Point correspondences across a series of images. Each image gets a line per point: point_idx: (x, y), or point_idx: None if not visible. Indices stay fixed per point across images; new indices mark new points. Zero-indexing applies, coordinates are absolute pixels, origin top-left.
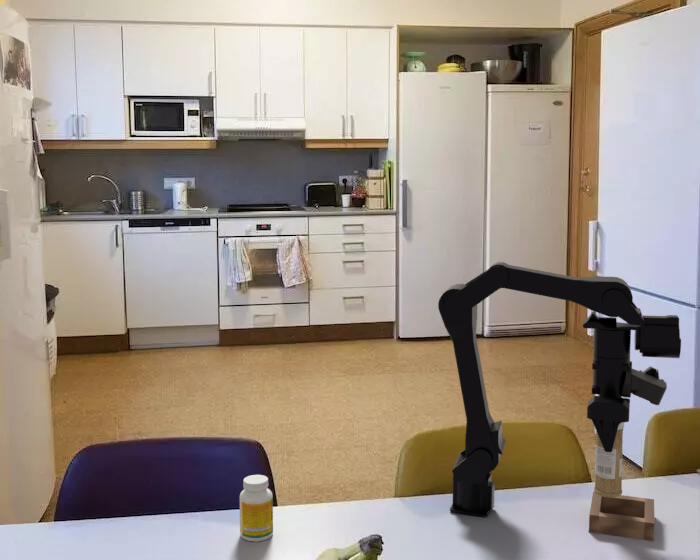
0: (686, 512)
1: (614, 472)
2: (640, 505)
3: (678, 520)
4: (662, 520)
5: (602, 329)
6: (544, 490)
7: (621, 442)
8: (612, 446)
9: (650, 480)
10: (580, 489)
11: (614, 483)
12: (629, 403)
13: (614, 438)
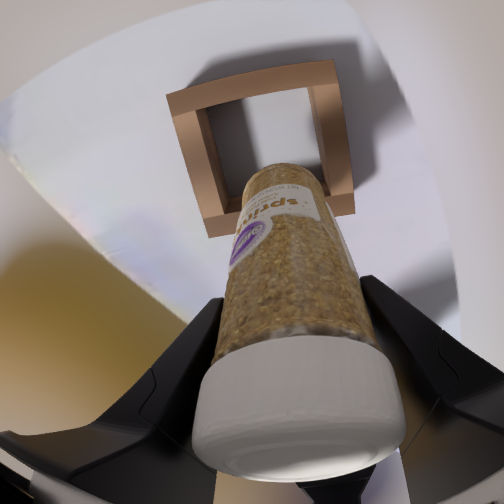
0: (119, 45)
1: (331, 212)
2: (200, 119)
3: (171, 42)
4: (192, 69)
5: None
6: (191, 310)
7: (316, 267)
8: (392, 291)
9: (27, 167)
10: (142, 261)
11: (320, 194)
12: (68, 479)
13: (426, 318)
